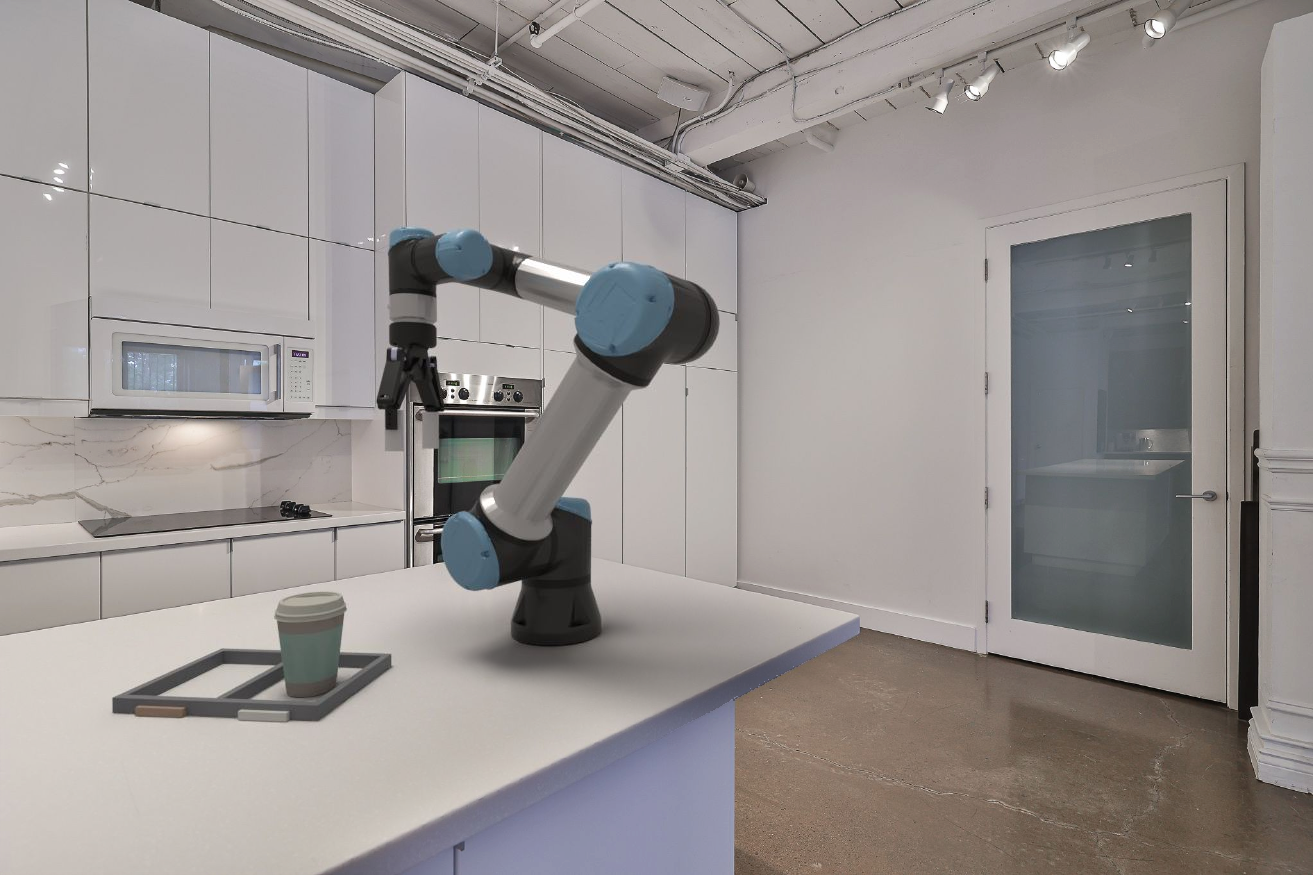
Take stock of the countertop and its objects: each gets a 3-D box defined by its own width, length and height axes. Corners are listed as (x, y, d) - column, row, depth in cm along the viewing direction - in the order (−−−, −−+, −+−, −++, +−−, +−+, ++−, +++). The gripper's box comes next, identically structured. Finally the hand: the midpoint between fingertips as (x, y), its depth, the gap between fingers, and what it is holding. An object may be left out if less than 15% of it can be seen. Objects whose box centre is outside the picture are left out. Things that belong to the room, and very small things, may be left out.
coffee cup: (361, 681, 90) (361, 593, 90) (310, 706, 82) (309, 609, 82) (312, 673, 93) (312, 588, 93) (258, 696, 85) (257, 603, 85)
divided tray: (391, 666, 96) (391, 653, 96) (314, 722, 77) (314, 707, 77) (222, 660, 98) (221, 648, 98) (108, 714, 80) (107, 699, 80)
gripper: (423, 334, 124) (424, 447, 125) (351, 310, 99) (352, 452, 100) (462, 333, 124) (462, 447, 124) (399, 310, 99) (400, 452, 99)
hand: (413, 450), depth 112 cm, fingers open, 13 cm apart
